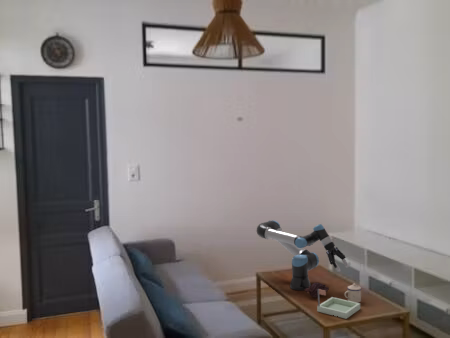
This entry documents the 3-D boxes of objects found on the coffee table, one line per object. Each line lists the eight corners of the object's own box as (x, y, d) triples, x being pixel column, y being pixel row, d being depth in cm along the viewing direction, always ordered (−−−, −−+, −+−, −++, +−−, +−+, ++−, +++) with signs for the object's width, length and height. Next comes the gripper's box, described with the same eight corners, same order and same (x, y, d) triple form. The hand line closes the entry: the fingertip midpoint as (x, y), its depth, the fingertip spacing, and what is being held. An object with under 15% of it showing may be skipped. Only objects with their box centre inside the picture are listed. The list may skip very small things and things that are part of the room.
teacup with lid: (356, 297, 304) (356, 280, 303) (364, 301, 295) (363, 284, 294) (341, 299, 300) (340, 283, 300) (348, 304, 292) (348, 287, 291)
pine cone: (326, 293, 314) (325, 279, 314) (332, 297, 305) (331, 283, 304) (302, 295, 311) (302, 281, 310) (308, 300, 301) (307, 286, 301)
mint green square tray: (317, 311, 282) (316, 289, 281) (332, 302, 297) (331, 281, 296) (346, 318, 269) (345, 295, 268) (360, 308, 284) (359, 286, 283)
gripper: (323, 244, 314) (339, 271, 307) (339, 238, 333) (355, 263, 326) (316, 249, 318) (331, 275, 311) (332, 242, 337) (347, 267, 330)
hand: (343, 269), depth 318 cm, fingers open, 13 cm apart
